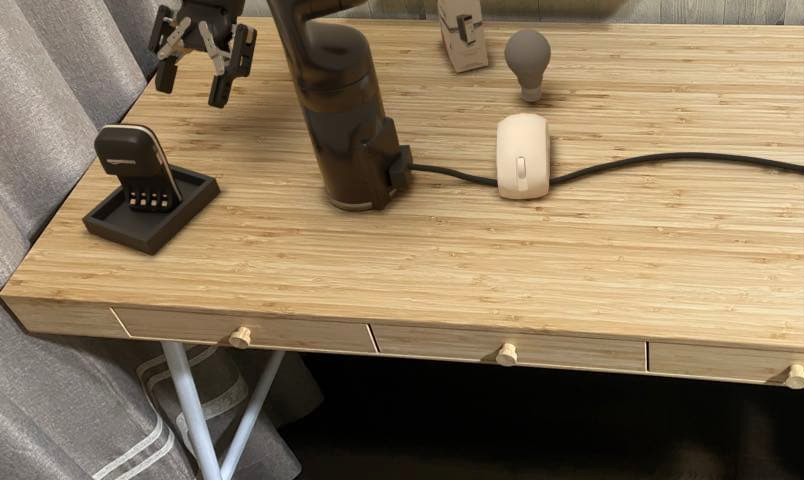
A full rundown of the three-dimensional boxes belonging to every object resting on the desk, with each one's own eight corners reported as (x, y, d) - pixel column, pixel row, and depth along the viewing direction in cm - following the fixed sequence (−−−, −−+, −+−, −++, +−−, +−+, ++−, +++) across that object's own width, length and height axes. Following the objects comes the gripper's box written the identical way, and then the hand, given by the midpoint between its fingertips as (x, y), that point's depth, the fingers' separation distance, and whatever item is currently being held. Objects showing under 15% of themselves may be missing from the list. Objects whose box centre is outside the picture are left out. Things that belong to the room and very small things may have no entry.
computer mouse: (497, 202, 121) (491, 161, 116) (501, 136, 130) (495, 95, 125) (551, 199, 121) (547, 158, 116) (551, 133, 129) (547, 92, 125)
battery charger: (121, 215, 124) (83, 140, 116) (135, 194, 127) (98, 120, 118) (173, 218, 123) (138, 143, 115) (186, 197, 126) (153, 122, 117)
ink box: (441, 43, 146) (428, -33, 137) (473, 35, 147) (462, -41, 138) (456, 74, 140) (443, -3, 131) (489, 66, 141) (479, -11, 132)
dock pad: (221, 191, 127) (215, 177, 125) (152, 255, 120) (146, 242, 118) (158, 171, 131) (151, 157, 129) (88, 232, 123) (81, 218, 122)
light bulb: (505, 110, 134) (496, 44, 126) (516, 84, 137) (508, 18, 130) (548, 113, 132) (542, 47, 125) (559, 87, 136) (553, 21, 129)
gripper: (152, -51, 122) (123, 81, 124) (244, -31, 117) (212, 106, 119) (196, -31, 129) (167, 94, 131) (284, -12, 124) (253, 118, 126)
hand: (189, 99), depth 125 cm, fingers open, 8 cm apart
